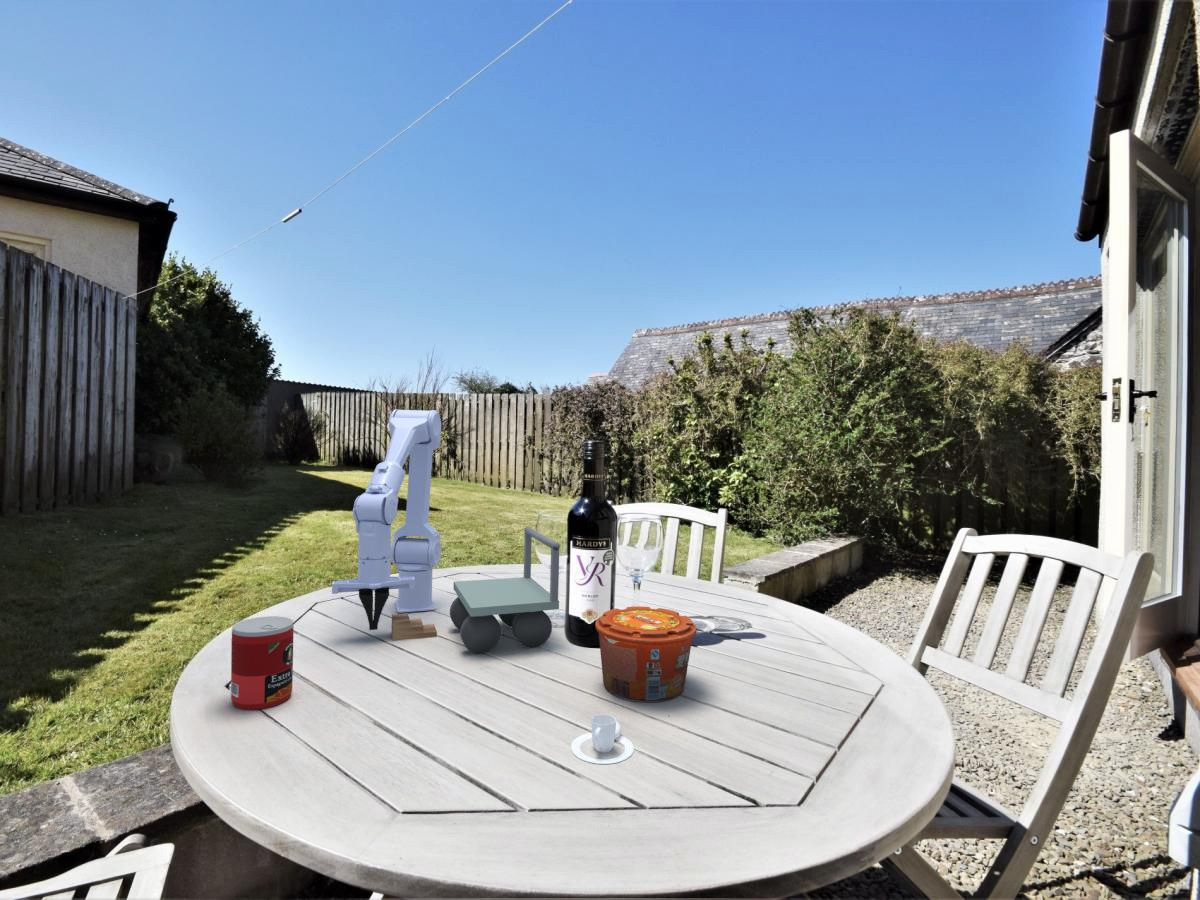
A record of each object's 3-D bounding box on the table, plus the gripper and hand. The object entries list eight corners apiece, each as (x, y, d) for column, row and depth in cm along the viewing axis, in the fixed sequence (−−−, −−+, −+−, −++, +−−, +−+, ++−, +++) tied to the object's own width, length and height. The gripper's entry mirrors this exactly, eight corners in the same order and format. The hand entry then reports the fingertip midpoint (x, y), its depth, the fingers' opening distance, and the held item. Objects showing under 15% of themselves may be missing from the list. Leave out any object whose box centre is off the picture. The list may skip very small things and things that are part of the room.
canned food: (274, 711, 85) (276, 633, 85) (218, 709, 85) (219, 631, 85) (302, 689, 93) (304, 616, 93) (250, 687, 93) (251, 615, 93)
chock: (391, 634, 120) (391, 614, 120) (433, 630, 123) (434, 611, 123) (392, 642, 115) (393, 621, 115) (436, 638, 118) (437, 618, 118)
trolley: (447, 626, 125) (449, 529, 124) (529, 618, 131) (531, 526, 131) (464, 660, 106) (466, 546, 106) (557, 650, 113) (560, 542, 112)
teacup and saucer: (602, 727, 84) (602, 698, 84) (649, 747, 79) (650, 716, 79) (557, 752, 77) (558, 719, 77) (606, 775, 72) (607, 741, 72)
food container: (709, 680, 100) (711, 615, 100) (669, 718, 86) (671, 642, 86) (623, 660, 108) (625, 599, 108) (574, 691, 95) (575, 622, 94)
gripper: (331, 563, 110) (330, 638, 110) (416, 559, 115) (415, 631, 115) (333, 555, 116) (332, 626, 116) (413, 552, 121) (411, 620, 122)
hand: (373, 628), depth 116 cm, fingers closed
